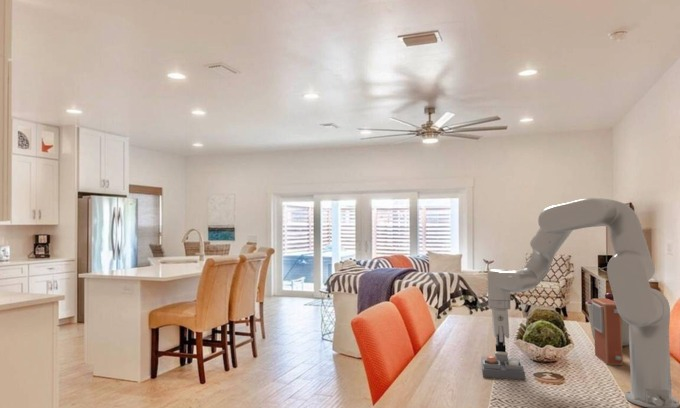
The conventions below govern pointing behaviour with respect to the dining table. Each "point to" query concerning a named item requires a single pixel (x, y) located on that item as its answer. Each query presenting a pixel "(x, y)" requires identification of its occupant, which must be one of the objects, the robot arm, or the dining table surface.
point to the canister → (624, 324)
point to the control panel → (607, 331)
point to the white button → (513, 362)
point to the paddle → (501, 356)
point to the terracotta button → (491, 359)
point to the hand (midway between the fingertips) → (500, 356)
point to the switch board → (503, 369)
